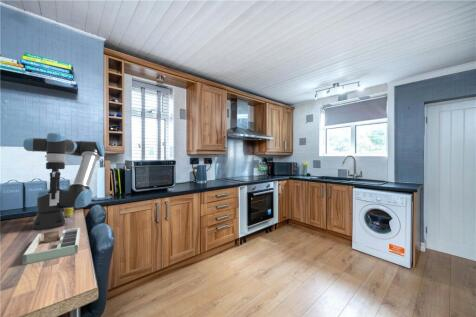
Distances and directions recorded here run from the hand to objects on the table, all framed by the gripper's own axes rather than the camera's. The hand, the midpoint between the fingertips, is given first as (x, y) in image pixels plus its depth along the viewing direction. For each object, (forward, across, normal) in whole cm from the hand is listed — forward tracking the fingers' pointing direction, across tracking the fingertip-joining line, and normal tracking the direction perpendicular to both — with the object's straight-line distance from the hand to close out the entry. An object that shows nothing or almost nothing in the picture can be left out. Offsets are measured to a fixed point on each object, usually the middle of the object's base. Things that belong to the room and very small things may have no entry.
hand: (54, 204), depth 106 cm
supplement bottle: (+18, -47, +4) cm, 50 cm away
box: (+17, +18, +3) cm, 25 cm away
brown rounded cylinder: (+17, +7, 0) cm, 19 cm away
